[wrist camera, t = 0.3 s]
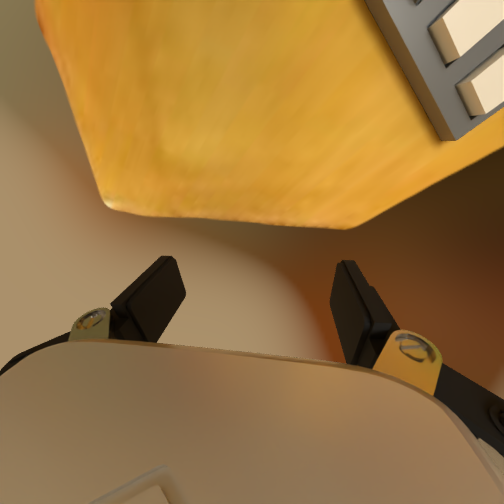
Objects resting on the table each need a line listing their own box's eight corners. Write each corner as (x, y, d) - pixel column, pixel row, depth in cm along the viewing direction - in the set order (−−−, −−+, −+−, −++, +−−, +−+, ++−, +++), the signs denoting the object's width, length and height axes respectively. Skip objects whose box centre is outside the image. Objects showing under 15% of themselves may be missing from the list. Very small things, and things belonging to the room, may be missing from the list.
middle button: (425, 30, 23) (442, 17, 21) (471, -16, 21) (497, -38, 19) (442, 65, 25) (460, 56, 22) (487, 24, 23) (513, 10, 20)
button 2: (452, 87, 26) (471, 81, 23) (497, 50, 23) (523, 38, 21) (466, 116, 27) (486, 114, 24) (510, 83, 25) (536, 77, 22)
